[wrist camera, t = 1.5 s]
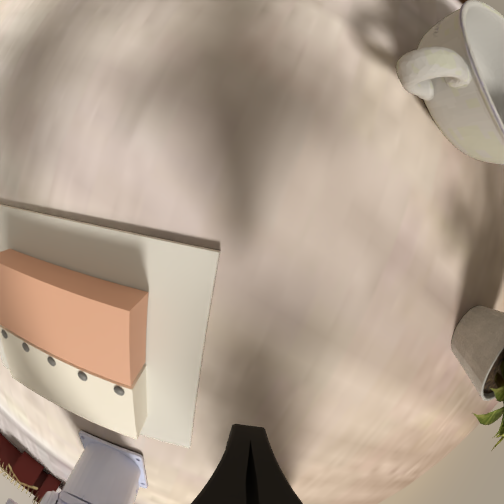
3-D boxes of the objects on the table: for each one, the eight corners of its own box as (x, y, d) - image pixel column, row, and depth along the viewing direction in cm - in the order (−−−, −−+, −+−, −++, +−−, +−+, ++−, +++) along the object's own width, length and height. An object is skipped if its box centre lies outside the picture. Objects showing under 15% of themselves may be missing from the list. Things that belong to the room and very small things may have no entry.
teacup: (479, 63, 13) (535, 41, 5) (499, 177, 15) (567, 182, 7) (345, 19, 13) (385, -47, 5) (366, 158, 15) (445, 139, 7)
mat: (190, 444, 20) (189, 448, 20) (5, 363, 20) (3, 365, 19) (220, 250, 16) (219, 252, 16) (-15, 200, 16) (-19, 201, 15)
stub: (145, 361, 17) (131, 386, 15) (15, 308, 17) (-5, 320, 14) (148, 292, 16) (129, 311, 13) (9, 248, 16) (-14, 256, 13)
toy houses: (134, 519, 29) (124, 553, 19) (107, 523, 32) (98, 548, 22) (-39, 379, 23) (-64, 402, 13) (-31, 413, 26) (-49, 432, 16)
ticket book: (147, 415, 19) (136, 440, 16) (28, 363, 19) (11, 378, 16) (146, 365, 18) (131, 390, 15) (17, 312, 17) (-4, 325, 14)
